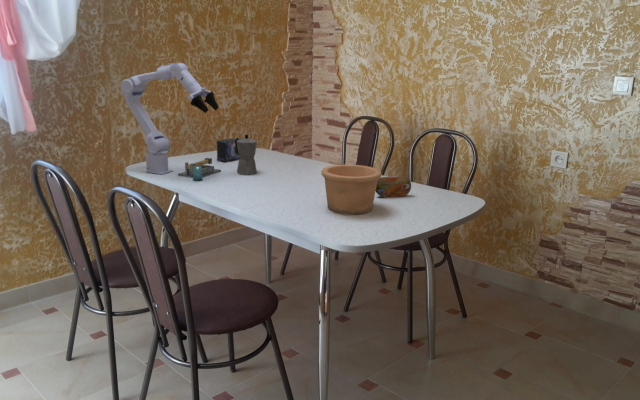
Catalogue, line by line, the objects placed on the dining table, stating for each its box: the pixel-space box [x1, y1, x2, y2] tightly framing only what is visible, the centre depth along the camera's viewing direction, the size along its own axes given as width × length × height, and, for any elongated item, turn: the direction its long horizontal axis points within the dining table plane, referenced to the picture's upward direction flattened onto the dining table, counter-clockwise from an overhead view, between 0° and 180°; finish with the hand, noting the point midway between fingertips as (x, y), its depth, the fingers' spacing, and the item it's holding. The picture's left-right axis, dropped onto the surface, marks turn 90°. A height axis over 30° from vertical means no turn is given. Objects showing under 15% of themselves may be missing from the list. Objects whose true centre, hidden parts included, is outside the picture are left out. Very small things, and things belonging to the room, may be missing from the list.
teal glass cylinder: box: [192, 166, 204, 182], centre depth 237 cm, size 4×4×6 cm
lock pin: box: [187, 157, 213, 169], centre depth 249 cm, size 3×16×2 cm, turn 156°
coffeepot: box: [235, 134, 258, 176], centre depth 252 cm, size 15×9×18 cm, turn 44°
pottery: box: [320, 164, 382, 216], centre depth 201 cm, size 22×22×14 cm
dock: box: [178, 161, 222, 178], centre depth 250 cm, size 12×16×6 cm
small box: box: [216, 138, 240, 163], centre depth 278 cm, size 11×6×10 cm, turn 143°
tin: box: [375, 175, 412, 199], centre depth 219 cm, size 15×3×8 cm, turn 105°
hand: (212, 110), depth 233 cm, fingers open, 7 cm apart
